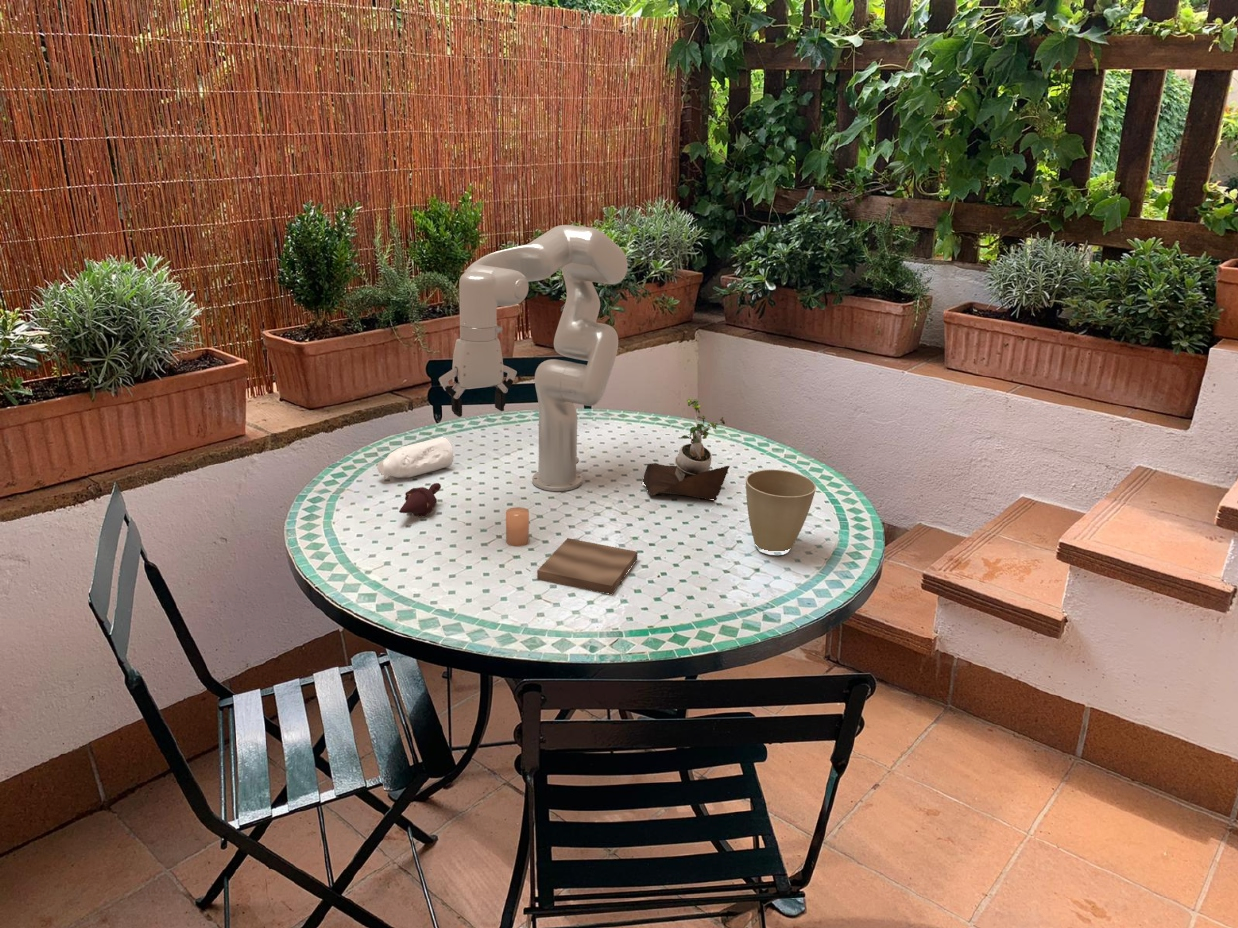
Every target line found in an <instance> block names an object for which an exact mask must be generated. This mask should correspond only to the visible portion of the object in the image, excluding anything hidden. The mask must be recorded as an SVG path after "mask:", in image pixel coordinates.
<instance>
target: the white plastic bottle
mask: <svg viewBox="0 0 1238 928" xmlns="http://www.w3.org/2000/svg"><path fill="white" fill-rule="evenodd" d="M452 445H453V444H451V443H450V441H449V440H448V439H447V438H445V437H442V436H440V437H436V438H431V439H429V440H428V439H427V440H425V441H421V442H416V443H411V444H408V445H404V446H401V447H398V448H396V449H395V450H394V451H391V452H390V453H389V454H388V455H387V457H386V458H385V459H383V460H380V461H378V462H377V464H376V465H377V467H376V468H377V471H378V473H379V474H380V475H381V476H383V478H384V479H388V478H389V476H391V477H394V478H398V479H399V478H404V479H405V478H406V479H408V478H412V477H416V476H419V475H420V476H421V475H424V474H428V473H430V472H435V471H439V470H441V469H446V468H450V467H451V466H452V464H453V462H454V458H455V456H454V451H453V450H452Z"/></svg>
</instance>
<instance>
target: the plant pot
mask: <svg viewBox="0 0 1238 928" xmlns="http://www.w3.org/2000/svg"><path fill="white" fill-rule="evenodd" d="M816 490H817V485H816V483H815V482H814V481H813V480H812V479H810V478H809V477H807V476H805V475H803V474H800V473H796V472H793V471H789V470H782V469H761V470H757V471H754V472H751V473H749V474H748V475H746V477H745V493H746V505H747V506H746V507H747V513H748V520H749V525H750V531H751V535H752V539H753V543H754V545H755V544H756V545H757V546H758V547H759V548H761V549H764V550H768V551H785V550H788V549H790V548H791V547H792V548H793V546H794V544H795V542H796V541H797V539H798V537H799V535H800V534H801V531H802V528H803V526H804V524H805V523H806V520H807V517H808V514H809V511H810V509H811V506H812V503H813V500H814V497H815V493H816ZM792 548H791V549H792Z"/></svg>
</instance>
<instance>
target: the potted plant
mask: <svg viewBox="0 0 1238 928" xmlns="http://www.w3.org/2000/svg"><path fill="white" fill-rule="evenodd" d="M692 400H693V401H692ZM686 403H687V406H688V407H690V406H692V408H693V410H694V413H695V415H694V416H695V425H696V426H692V427H690V429H689V432H690V433H689V435H685V434H684V435H682V436H681V439H684V440H687V439H690V443H686V444H683V445H682V446H681V447H680V448H679V452H678V453H677V456H676V457H675V459H674V463H675V465H664V464H659V463H657V462H654V463H648V464H647V465H646V468H645V472H644V474H643V477H644V479H643V478H642V480H643V482H644V484H645V485H646V487H645V488H646V491H647V490H648V493H647V494H649V496H655V495H658V494H673V495H680V496H687V497H693V498H694V497H695V498H698V497H699V498H698V499H703V498H706V499H705V500H709V499H714V501H717V500H718V497H719V494H721V493H720V492H721V489H722V486H723V485H724V483H725V479H726V476H727V474H728V472H729V469H730V465H725V466H722V467H718V468H715V469H710V468H711V464H712V457H713V456H712V452H711V451H710V450H709V449H707V448H706V447H705V446H704V444H703V442H702V439H703V440H705V439H706V438H707V437H708V436H709V434H710V433H709V430H710V429H711V428H712V429H714V430H717V426H718V425H721V424H723V425H725V424H726V421H725V420H724V417H720V419H719V421H718V422H717V423H714V422H712V421H710V422H709V423H708V424H707V426H706V427H705V420H706V416H705V415H702V416H701V415H698V414H701V411H700V407H702V406H701V405H700V404H699V400H698V399H697V398H694V399H693V398H688V399H686ZM698 419H702V423H699V422H698ZM702 428H703V429H702ZM691 436H692V437H691Z"/></svg>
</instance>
